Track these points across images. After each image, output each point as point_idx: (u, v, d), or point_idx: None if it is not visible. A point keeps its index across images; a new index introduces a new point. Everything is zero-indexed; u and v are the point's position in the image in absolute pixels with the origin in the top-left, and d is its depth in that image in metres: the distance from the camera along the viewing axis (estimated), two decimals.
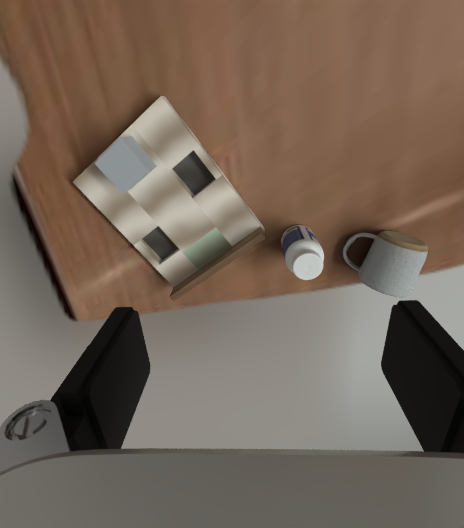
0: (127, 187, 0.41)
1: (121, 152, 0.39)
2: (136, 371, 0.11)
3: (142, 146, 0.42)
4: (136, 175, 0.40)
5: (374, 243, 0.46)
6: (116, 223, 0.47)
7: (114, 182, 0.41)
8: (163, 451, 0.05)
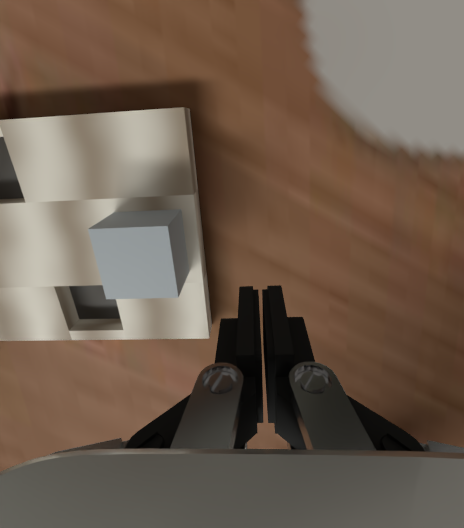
0: (95, 247, 0.19)
1: (157, 281, 0.20)
2: None
3: None
4: (109, 277, 0.20)
5: None
6: (60, 124, 0.20)
7: (116, 232, 0.19)
8: (163, 451, 0.05)
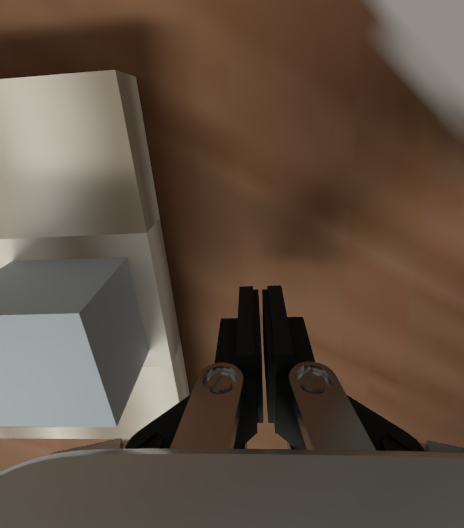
0: None
1: (75, 403, 0.11)
2: None
3: None
4: None
5: None
6: None
7: None
8: (163, 451, 0.05)
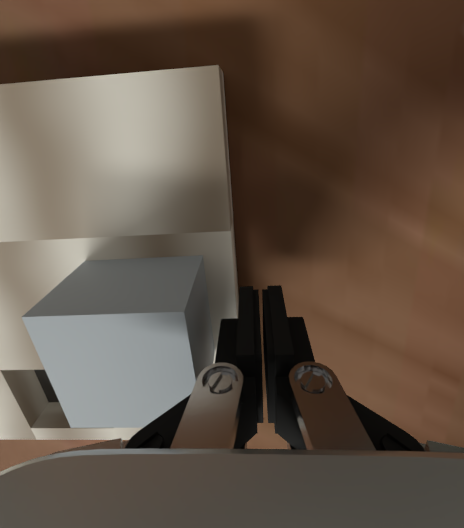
0: (41, 347, 0.10)
1: (164, 403, 0.11)
2: None
3: None
4: (72, 395, 0.11)
5: None
6: None
7: (79, 322, 0.09)
8: (163, 451, 0.05)
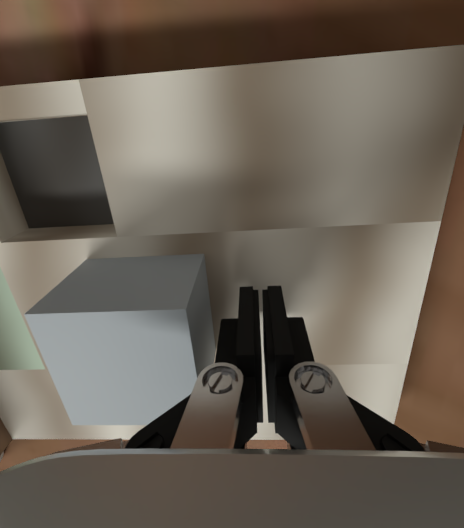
0: (43, 345, 0.10)
1: (166, 400, 0.11)
2: None
3: (347, 351, 0.14)
4: (74, 393, 0.11)
5: None
6: (207, 86, 0.10)
7: (81, 320, 0.09)
8: (163, 451, 0.05)
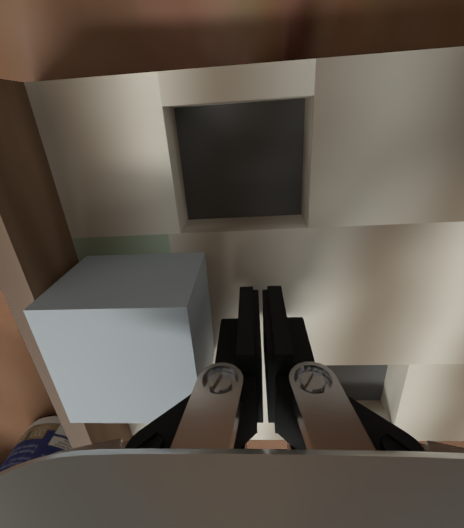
0: (42, 341, 0.10)
1: (165, 399, 0.11)
2: None
3: None
4: (72, 390, 0.11)
5: None
6: (454, 67, 0.09)
7: (80, 316, 0.09)
8: (163, 451, 0.05)
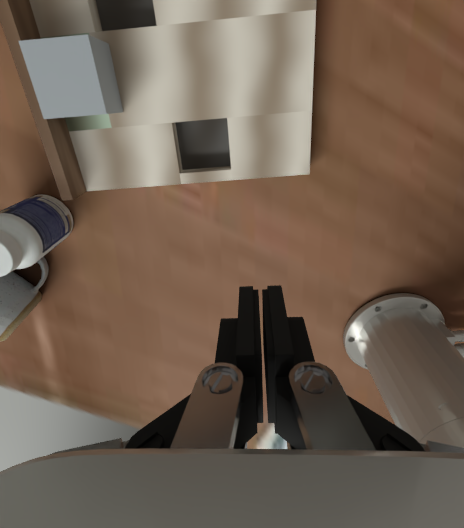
0: (27, 60, 0.22)
1: (86, 97, 0.23)
2: None
3: (279, 103, 0.27)
4: (43, 94, 0.23)
5: (26, 289, 0.35)
6: None
7: (43, 43, 0.22)
8: (163, 451, 0.05)
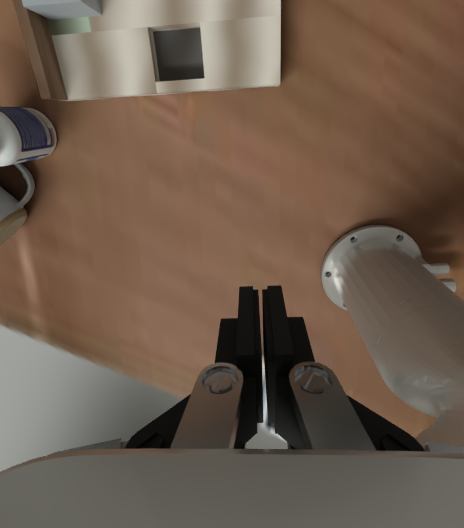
0: None
1: None
2: None
3: (249, 7, 0.28)
4: None
5: (11, 201, 0.36)
6: None
7: None
8: (163, 451, 0.05)
